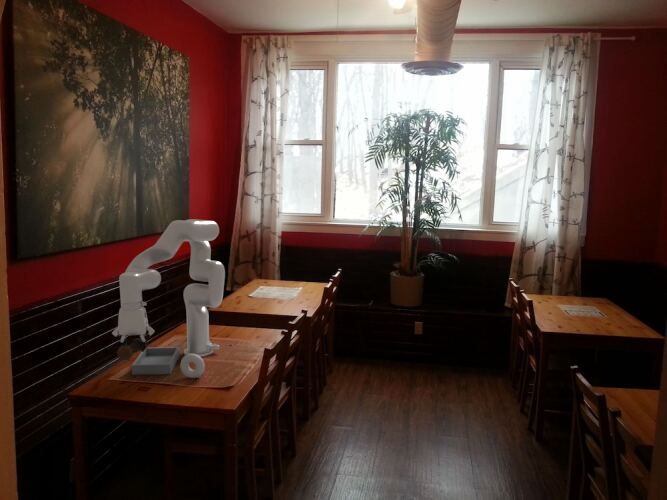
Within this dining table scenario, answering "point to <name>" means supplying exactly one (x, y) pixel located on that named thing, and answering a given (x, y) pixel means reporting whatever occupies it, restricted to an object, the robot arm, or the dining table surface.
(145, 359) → the bin
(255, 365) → the dining table surface
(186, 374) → the donut
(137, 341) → the bolt
